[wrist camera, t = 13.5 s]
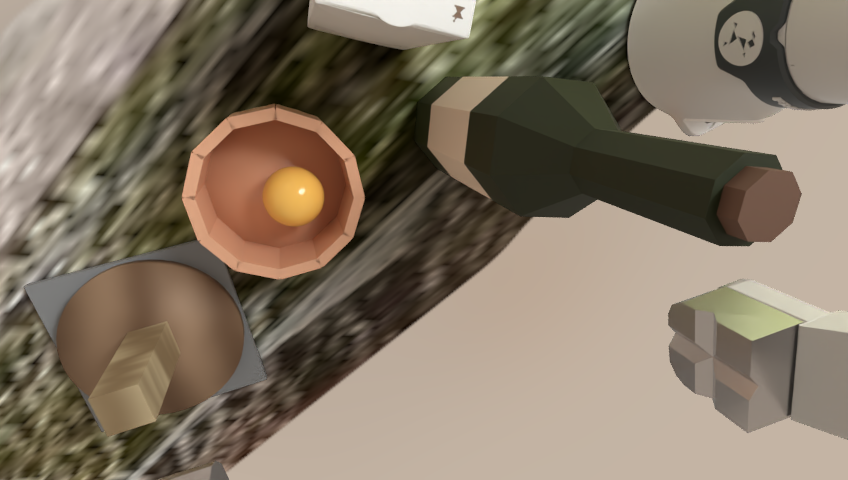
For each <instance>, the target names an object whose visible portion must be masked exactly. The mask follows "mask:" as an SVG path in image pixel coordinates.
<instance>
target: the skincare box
mask: <svg viewBox="0 0 848 480" xmlns="http://www.w3.org/2000/svg"><path fill="white" fill-rule="evenodd" d="M475 4H476V0H310V1H309V11H308V22H307V26H308V27H309V28H311V29H315V30H318V31H322V32H326V33H330V34H335V35H339V36H343V37H347V38H351V39H355V40H359V41H363V42H368V43H372V44H377V45H381V46H386V47H391V48H396V49H401V50H406V49H411V48H416V47H421V46H426V45H431V44H437V43H442V42H448V41H454V40H460V39H466V38H469V35H470V30H471V24H472V19H473V14H474V9H475Z"/></svg>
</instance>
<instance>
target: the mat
mask: <svg viewBox="0 0 848 480" xmlns="http://www.w3.org/2000/svg"><path fill="white" fill-rule="evenodd" d="M199 241H200V240H199ZM199 241H198V240H194V241H190V242H186V243H183V244H179V245H175V246H171V247H167V248H163V249H160V250H156V251H152V252H148V253H144V254H140V255H137V256H133V257H129V258H125V259H121V260H117V261H114V262H110V263H106V264H102V265H98V266H94V267H91V268H87V269H83V270H79V271H75V272H71V273H68V274H64V275H60V276H56V277H52V278H48V279H45V280H41V281H37V282H33V283H29V284H27V285H26V286H24V288H25V290H26V292H27V294H28V296H29V298H30V300H31V301H32V303H33V305H34V307H35V309H36V311H37V313H38V314H39V316H40V318H41V320H42V322H43V324H44V326H45V327H46V329H47V331H48V333H49V335H50V337H51V339H52V340H53V342H54V344H55V346H56V348H57V342H56V336H57V327H58V323H59V319H60V317H61V315H62V312H63V310H64V308H65V307H66V305H67V303H68V302H69V300H70V299H71V298H72V297H73V296H74V295H75V293H76V292H77V291H78V290H79V289H80V288H81V287H82V286H83V285H84V284H85V283H86V282H88V281H89V280H90V279H91V278H93V277H94V276H96V275H98V274H99V273H101V272H103V271H105V270H107V269H109V268H111V267H114V266H117V265H120V264H123V263H127V262H132V261H137V260H148V259H151V260H167V261H174V262H178V263H182V264H186V265H189V266H191V267H194V268H196V269H198V270H200V271H202V272H204V273H206V274H208V275H209V276H211V277H212V278H214V279H215V280H217V281H218V282H219V283H220V284H221V285H222V286H223V287H224V288H225V289H226V290H227V291H228V292H229V293H230V295H231V296H232V297H233V299H234V300H235V302H236V304H237V306H238V308H239V310H240V312H241V316H242V319H243V323H244V345H243V351H242V356H241V359H240V362H239V364H238V366H237V368H236V370H235V372H234V374H233V375H232V376H231V378H230V379H229V381H228V382H227V383H226V384H225V385H224V386H223V387H222V388H221V389H220V390H219V391H218V392H216V393H215V394H214V395H213V396H216V395H219V394H222V393H226V392H229V391H232V390H235V389H238V388H241V387H244V386H247V385H251V384H254V383H257V382H260V381H263V380H266V379H267V374H266V372H265V369H264V366H263V363H262V361H261V358H260V355H259V353H258V350H257V347H256V344H255V342H254V339H253V336H252V334H251V331H250V328H249V325H248V323H247V320H246V317H245V315H244V312H243V309H242V306H241V304H240V301H239V298H238V296H237V293H236V290H235V287H234V285H233V282H232V279H231V277H230V274H229V271H228V268H227V266H226V263H224V262H223V261H222V260H221V259H219V258H218V257H217V256H216V255H214V254H213V253H212V252H211V251H209V250H208V249H207V248H206V247H204V246H203V245H202V244H201V243H199ZM78 389H79V388H78ZM79 391H80V392H81V394H82V396H83V398H84V400H85V402H86V404H87V405H88V407H89V409H90V411H91V413H92V415H93V417H94V418H95V420H96V422H97V424H98V426H99V428H100V430H101V431H102V432H104V429H103V427H102V425H101V423H100V421H99V420H98V418H97V416H96V414H95V412H94V410H93V408H92V407H91V405H90V403H89V401H88V399H89V396H88V395H86V394H85V393H84V392H83V391H82V390H80V389H79ZM213 396H211V397H213Z"/></svg>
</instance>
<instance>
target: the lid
mask: <svg viewBox="0 0 848 480" xmlns="http://www.w3.org/2000/svg"><path fill="white" fill-rule="evenodd" d="M56 342H57V351H58V355H59V359H60V361H61V363H62V366H63V368H64V370H65V371H66V373H67V375H68V376H69V378H70V379H71V380H72V381H73V382H74V384H75V385H76V386H77V387H78V388H79V389H80V390H82V391H83V392H84V393H85V394H86V395H88V396H89V399H88V401H89V403H90V405H91V407H92V408H93V410H94V412H95V414H96V416H97V418H98V420H99V421H100V423H101V425H102V427H103V429H104V431H105V433H106V435H107V436H112V435H115V434H118V433H121V432H124V431H127V430H130V429H133V428H136V427H139V426H143V425H146V424H149V423H152V422H155V421H156V420H157V417H158V414H166V413H173V412H177V411H181V410H185V409H187V408H190V407H193V406H195V405H197V404H199V403H201V402H203V401H205V400H207V399H208V398H210V397H211V396H213V395H214V394H215V393H216V392H218V391H219V390H220V389H221V388H222V387H223V386H224V385H225V384H226V383H227V382H228V381H229V379H230V378H231V376H232V375H233V374H234V372H235V370H236V368H237V366H238V364H239V362H240V359H241V356H242V351H243V345H244V323H243V319H242V316H241V312H240V310H239V308H238V306H237V304H236V302H235V300H234V299H233V297H232V296H231V295H230V293H229V292H228V291H227V290H226V289H225V288H224V287H223V286H222V285H221V284H220V283H219V282H218V281H217V280H215V279H214V278H212V277H211V276H209V275H208V274H206V273H204V272H202V271H200V270H198V269H196V268H194V267H191V266H189V265H186V264H182V263H178V262H174V261H167V260H151V259H148V260H137V261H132V262H127V263H123V264H120V265H117V266H114V267H111V268H109V269H107V270H105V271H103V272H101V273H99V274H98V275H96V276H94V277H93V278H91V279H90V280H89V281H88V282H86V283H85V284H84V285H83V286H82V287H81V288H80V289H79V290H78V291H77V292H76V293H75V295H74V296H73V297H72V298H71V299H70V300H69V302H68V303H67V305H66V307H65V308H64V310H63V312H62V315H61V317H60V319H59V323H58V327H57V336H56Z"/></svg>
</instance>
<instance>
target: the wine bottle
mask: <svg viewBox="0 0 848 480" xmlns="http://www.w3.org/2000/svg"><path fill="white" fill-rule="evenodd" d="M414 141H415V142H416V144H417V145H418V146H419V147H420V149H421V150H422V151H423V152H424V154H425V155H426V156H427V157H428V158H429V160H430V161H431V162H432V163H433V165H434V166H435V167H436V168H437V169H439V170H440V171H442V172H444V173H446V174H447V175H449V176H451V177H453V178H454V179H456V180H458V181H460V182H461V183H463V184H465V185H467V186H468V187H470V188H472V189H474V190H475V191H477V192H479V193H481V194H482V195H484V196H486V197H488V198H489V199H491V200H493V201H495V202H496V203H498V204H500V205H502V206H503V207H505V208H507V209H509V210H510V211H512V212H514V213H516V214H517V215H519V216H528V217H562V218H569V217H571V216H572V215H574V214H575V213H577V212H579V211H580V210H582V209H583V208H585V207H586V206H588V205H589V204H591V203H592V202H594V201H596V200H597V199H598V200H601V201H603V202H606V203H609V204H611V205H614V206H616V207H619V208H622V209H624V210H627V211H630V212H632V213H635V214H637V215H640V216H643V217H645V218H648V219H651V220H653V221H656V222H659V223H661V224H664V225H667V226H669V227H671V228H674V229H677V230H679V231H682V232H685V233H687V234H690V235H693V236H695V237H698V238H701V239H703V240H706V241H708V242H711V243H714V244H716V245H719V246H750V245H751V244H752V243H754V242H771V241H772V240H774V239H775V238H776V237H777V236H778V235H779V234H780V233H781V232H783V231H784V230H785V229H786V228H787V227H788V226H789V225H790V224H792V223H793V220H794V217H795V213H796V210H797V207H798V204H799V201H800V197H801V194H802V193H801V191H800V189H799V187H798V184H797V182H796V179H795V177H794V175H793V172H790V171H784V170H782V167H781V165H780V163H779V161H778V158H777V156H776V155H772V154H765V153H759V152H752V151H746V150H739V149H732V148H727V147H720V146H714V145H707V144H701V143H694V142H688V141H682V140H675V139H669V138H662V137H656V136H649V135H642V134H637V133H630V132H624V131H621V129H620V127H619V125H618V123H617V121H616V120H615V118H614V116H613V115H612V113H611V111H610V109H609V108H608V106H607V104H606V103H605V101H604V99H603V97H602V96H601V94H600V92H599V91H598V89H597V87H596V85H595V84H594V83H593V82H585V81H577V80H568V79H560V78H552V77H543V76H521V77H445V78H444V79H443V80H442V81H441V82H440V83H438V84H437V85H436V86H435V87H434V88H433V89H432V90H431V91H429V92H428V93H427V94H426V95H425V96H424V97H423V98H422V99H420V100H419V101H418V102H417V113H416V124H415V135H414Z"/></svg>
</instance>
